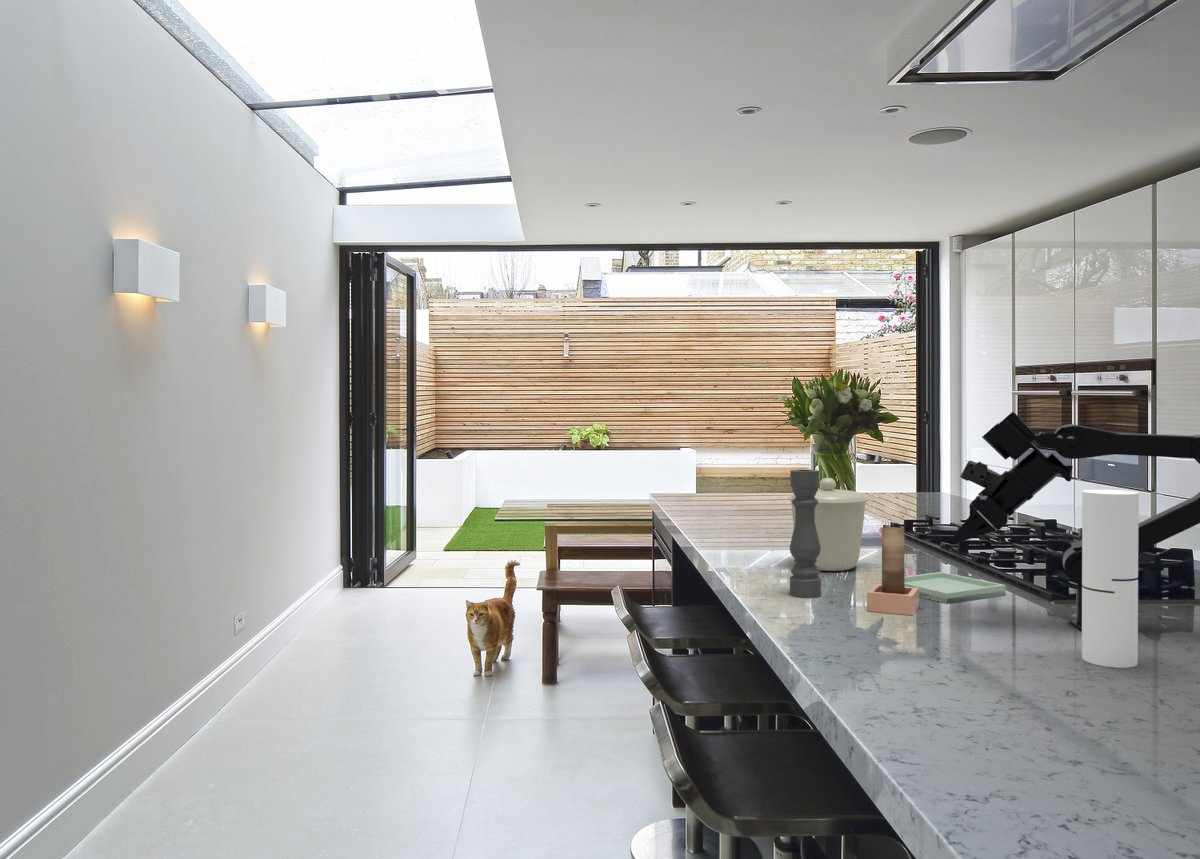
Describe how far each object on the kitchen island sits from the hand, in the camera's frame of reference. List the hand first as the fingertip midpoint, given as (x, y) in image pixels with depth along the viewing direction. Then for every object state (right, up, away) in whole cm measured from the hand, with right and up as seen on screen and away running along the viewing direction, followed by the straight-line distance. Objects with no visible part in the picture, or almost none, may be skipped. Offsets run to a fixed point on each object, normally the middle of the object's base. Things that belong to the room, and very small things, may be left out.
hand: (956, 537), depth 158 cm
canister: (-11, -13, +47) cm, 50 cm away
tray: (+6, -13, +20) cm, 25 cm away
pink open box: (-9, -14, +6) cm, 18 cm away
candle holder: (-23, -14, +19) cm, 33 cm away
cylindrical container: (+11, -15, -29) cm, 34 cm away
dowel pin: (-9, -14, +6) cm, 18 cm away
